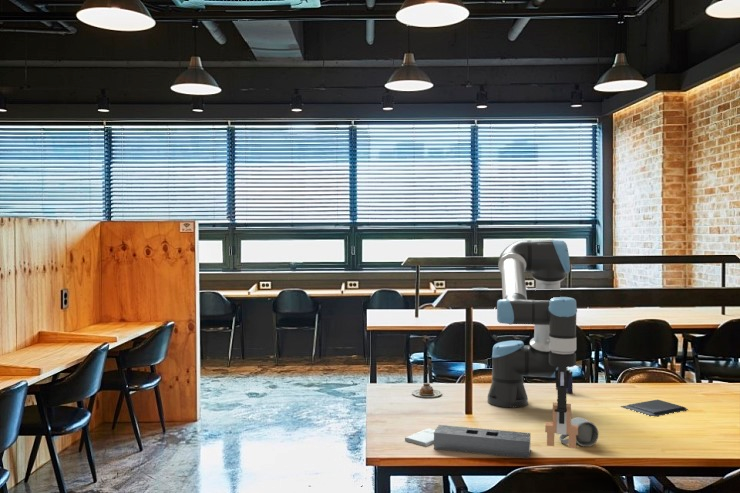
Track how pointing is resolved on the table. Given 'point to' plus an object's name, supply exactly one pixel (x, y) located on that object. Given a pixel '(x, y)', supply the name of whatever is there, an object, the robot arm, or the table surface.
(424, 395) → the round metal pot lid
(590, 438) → the ceramic mug
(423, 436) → the external hard drive
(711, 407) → the table surface
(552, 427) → the tan wooden block
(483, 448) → the rail
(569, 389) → the flask
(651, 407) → the dark gray flat slab
